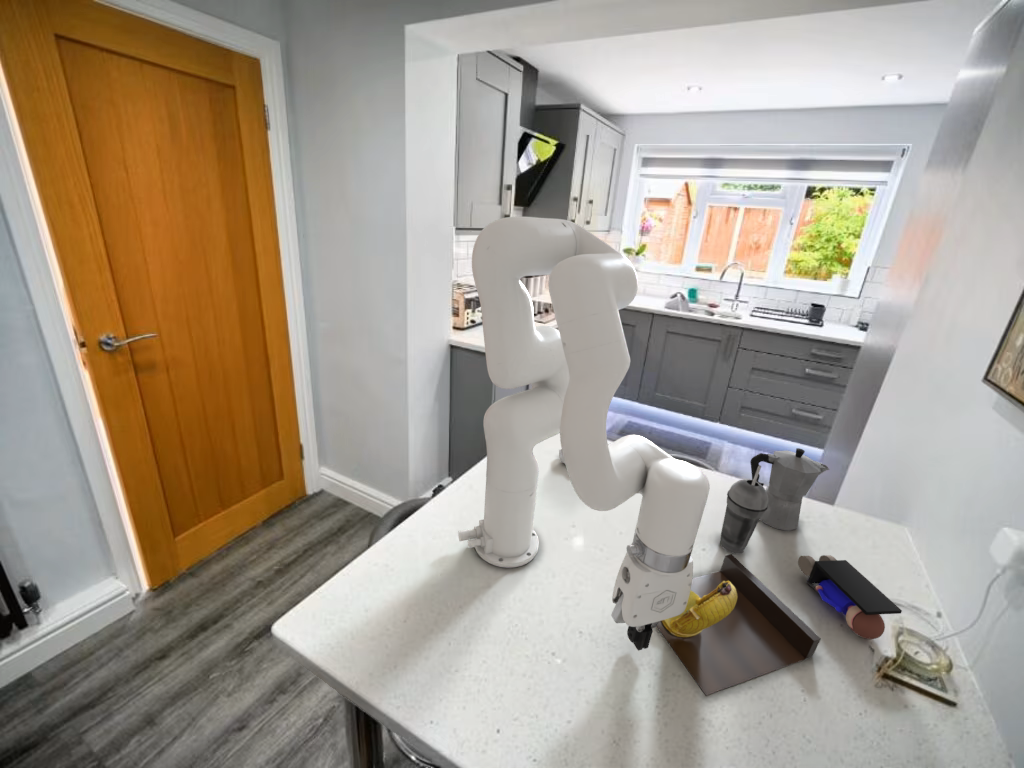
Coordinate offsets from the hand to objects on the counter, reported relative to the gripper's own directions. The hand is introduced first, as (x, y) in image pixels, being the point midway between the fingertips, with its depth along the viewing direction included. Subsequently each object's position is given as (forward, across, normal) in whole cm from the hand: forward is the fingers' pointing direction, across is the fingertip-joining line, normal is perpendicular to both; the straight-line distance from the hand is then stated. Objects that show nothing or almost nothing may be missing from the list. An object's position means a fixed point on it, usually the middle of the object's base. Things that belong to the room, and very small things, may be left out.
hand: (637, 640), depth 66 cm
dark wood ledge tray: (+2, +16, 0) cm, 16 cm away
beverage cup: (+2, +33, +14) cm, 36 cm away
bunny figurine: (+2, +17, +49) cm, 52 cm away
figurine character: (+2, +40, -3) cm, 40 cm away
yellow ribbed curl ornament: (+2, +10, 0) cm, 10 cm away
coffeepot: (+2, +49, +20) cm, 53 cm away
